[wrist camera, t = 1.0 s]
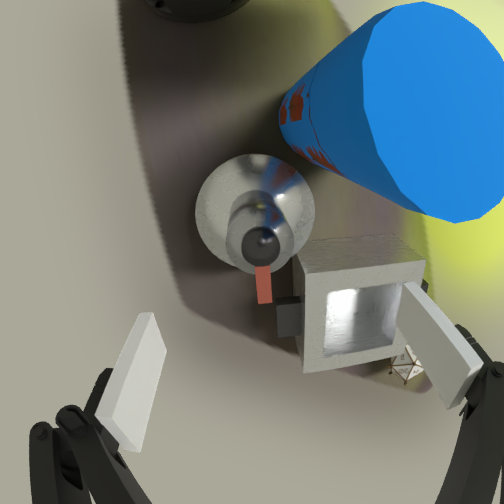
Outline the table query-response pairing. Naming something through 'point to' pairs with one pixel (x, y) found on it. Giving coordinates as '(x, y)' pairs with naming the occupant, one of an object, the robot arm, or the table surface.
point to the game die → (405, 365)
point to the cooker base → (348, 300)
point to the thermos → (407, 112)
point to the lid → (255, 215)
